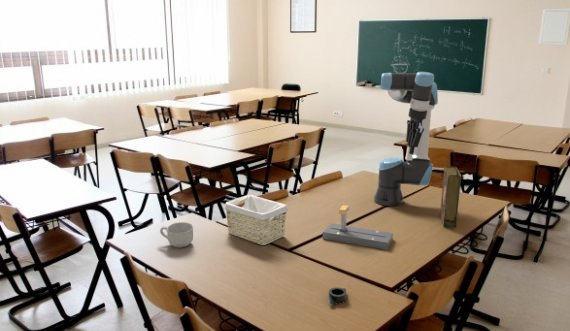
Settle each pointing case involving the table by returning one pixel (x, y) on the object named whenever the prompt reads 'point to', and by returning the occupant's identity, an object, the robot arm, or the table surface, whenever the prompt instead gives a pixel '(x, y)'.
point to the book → (450, 196)
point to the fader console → (358, 236)
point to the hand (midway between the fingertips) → (408, 159)
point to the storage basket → (256, 219)
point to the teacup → (179, 234)
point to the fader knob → (343, 217)
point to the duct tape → (337, 295)
